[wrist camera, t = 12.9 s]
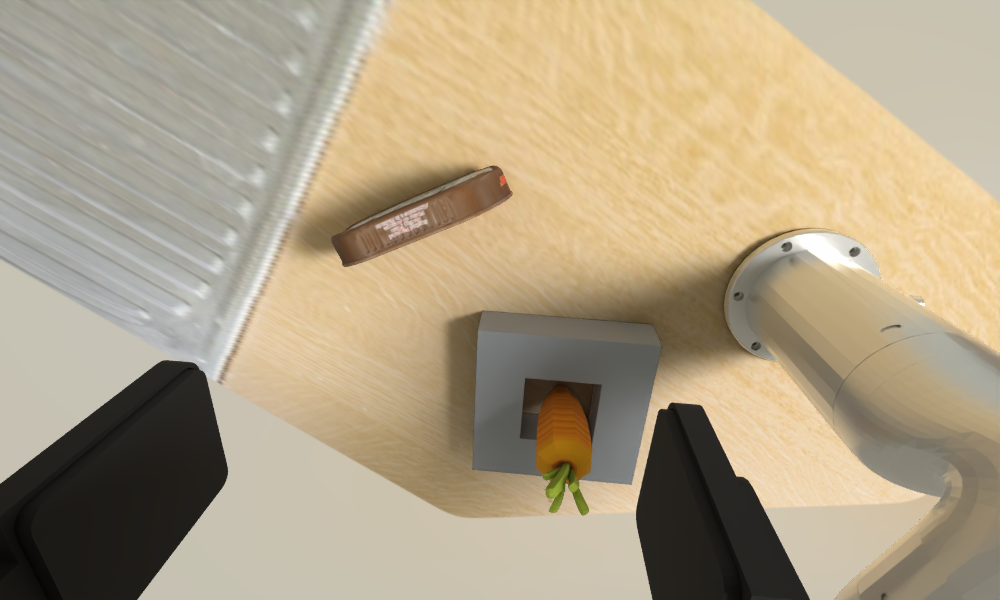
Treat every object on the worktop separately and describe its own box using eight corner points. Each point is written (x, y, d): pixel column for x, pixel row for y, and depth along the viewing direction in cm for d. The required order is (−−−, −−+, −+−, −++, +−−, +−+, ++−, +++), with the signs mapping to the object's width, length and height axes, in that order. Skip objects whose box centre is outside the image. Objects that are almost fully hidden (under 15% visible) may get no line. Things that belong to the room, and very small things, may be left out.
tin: (365, 248, 46) (329, 284, 38) (348, 217, 45) (308, 247, 37) (516, 187, 42) (511, 212, 35) (502, 151, 41) (493, 170, 34)
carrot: (591, 399, 51) (609, 520, 37) (545, 413, 52) (546, 535, 38) (575, 360, 49) (587, 472, 35) (528, 375, 50) (522, 489, 36)
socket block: (652, 324, 47) (661, 345, 43) (625, 456, 53) (631, 484, 50) (482, 310, 47) (477, 330, 44) (476, 442, 54) (472, 469, 50)
